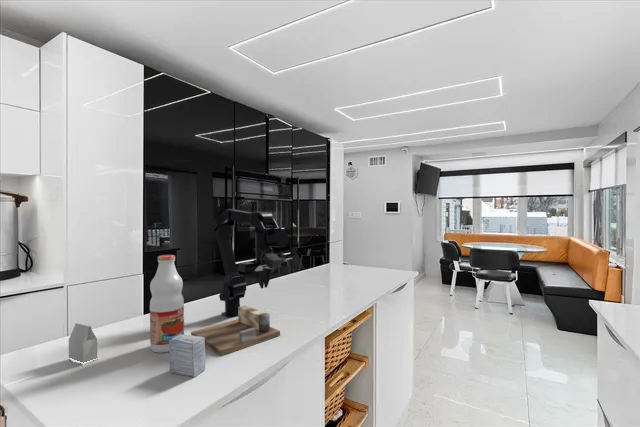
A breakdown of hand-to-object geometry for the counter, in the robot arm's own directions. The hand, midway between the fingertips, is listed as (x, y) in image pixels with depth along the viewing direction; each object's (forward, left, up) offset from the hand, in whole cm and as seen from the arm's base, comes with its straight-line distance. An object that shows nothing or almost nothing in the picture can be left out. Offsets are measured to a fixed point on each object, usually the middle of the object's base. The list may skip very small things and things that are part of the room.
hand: (264, 287), depth 119 cm
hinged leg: (+4, -7, -11) cm, 14 cm away
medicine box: (+16, -35, -13) cm, 41 cm away
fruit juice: (-4, -33, -13) cm, 36 cm away
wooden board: (+3, -14, -13) cm, 19 cm away
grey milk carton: (-12, -53, -13) cm, 56 cm away
